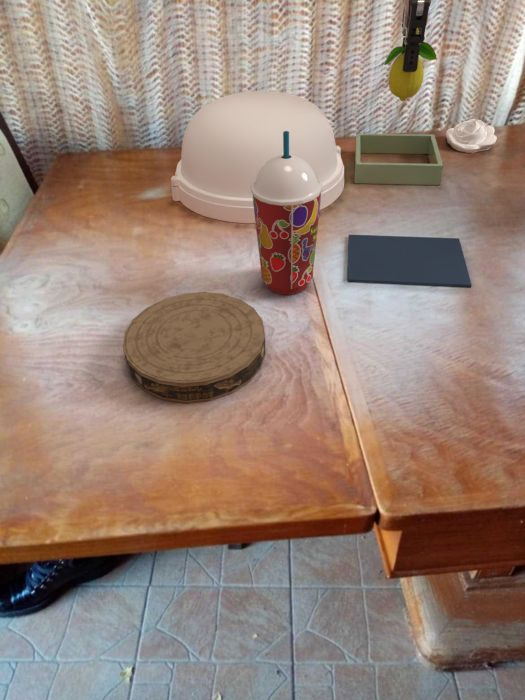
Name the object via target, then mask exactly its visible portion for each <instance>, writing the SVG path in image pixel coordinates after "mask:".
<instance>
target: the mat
mask: <svg viewBox="0 0 525 700" xmlns="http://www.w3.org/2000/svg"><path fill="white" fill-rule="evenodd" d="M347 251H348V252H347V278H346V279H347V280H346V281H347V282H348V283H368V284H369V283H370V284H389V285H390V284H393V285H411V286H412V285H414V286H432V287H433V286H434V287H454V288H455V287H458V288H472V281H471V278H470V274H469V270H468V267H467V263H466V258H465V255H464V252H463V247H462V244H461V241H460V238H459V237H430V236H405V235H404V236H403V235H402V236H401V235H376V234H375V235H372V234H348V247H347Z"/></svg>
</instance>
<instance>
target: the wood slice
mask: <svg viewBox="0 0 525 700" xmlns="http://www.w3.org/2000/svg"><path fill="white" fill-rule="evenodd" d="M264 326H265V325H264V320H263V319H262V317H261V316H260V314H259V313H258V311H257V310H256V309H255V307H253V306H251V305H250V304H249V303H247V302H245V301H244V300H243V299H240V298H239V297H238V298H237V297H234V296H233V295H232V296H231V295H228V294H225V293H219V292H209V291H198V292H185V293H182V294H177V295H174V296H170V297H166V298H163V299H161V300H159V301H157V302H154V303H153V304H151V305H148V306H147V307H146V308H144V309H143V310H142V311H140V312H139V313H138V314H137V315H136V316H135V317H133V319H132V320H131V322H130V323H129V324H128V326H127V327H126V329H125V331H124V335H123V341H122V350H123V353H124V357H125V360H126V364H127V368H128V370H129V373H130V376H131V379H132V381H133V382H134V383H135V384H136V385H137V386H138V387H139V388H141V389H142V391H143V392H145V393H147V394H149V395H150V396H153V397H155V398H158V399H160V400H163V401H166V402H167V401H168V402H173V403H181V404H193V403H203V402H211V401H214V400H217V399H220V398H223V397H227V396H229V395H232V394H233V393H235V392H237V391H238V390H240V389H241V388H243V387H244V386H246V385H247V384H249V383H250V382H251V381H252V380H253V378H254V377H256V376H257V374H258V372H260V370H261V369H262V366H263V364H264V360H265V357H266V333H265V327H264Z"/></svg>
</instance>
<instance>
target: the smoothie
mask: <svg viewBox="0 0 525 700" xmlns="http://www.w3.org/2000/svg"><path fill="white" fill-rule="evenodd" d="M251 192H252V194H253V205H254V214H255V222H256V223H255V231H256V237H257V238H256V239H257V240H256V241H257V248H258V256H259V263H260V270H261V271H260V273H261V278H262V280H263V282H264V283H265V284H266V287H267V289H269V290H270V291H272V292H273V293H276V294H279V295H294V294H298V293H301V292H303V291H304V290H305V289H307V288H308V285H309V283H310V282H311V280H312V278H313V276H314V269H315V268H314V267H315V260H316V259H315V258H316V249H317V238H318V228H319V220H320V219H319V218H320V211H321V210H320V200H321V192H322V183H321V182H320V181H319V180H318V177H317V175H316V173H315V171H314V169H313V168H312V167H311V165H310V164H309V163H308V162H307V161H306V160H304V159H302V158H301V157H298V156H295V155H291V154H289V131H284V132H283V155H279V156H276V157H273V158H272V159H270V160H268V161H267V162H266V163H265V164H264V165H263V166H262V168H261V169H260V170H259V172H258V174H257V176H256V179H255V181H254V182H253V184H252V186H251Z"/></svg>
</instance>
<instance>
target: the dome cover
mask: <svg viewBox="0 0 525 700" xmlns="http://www.w3.org/2000/svg"><path fill="white" fill-rule="evenodd" d="M284 131H289V154H291V155H295V156H298V157H301V158H302V159H304V160H306V161H307V162H308V163H309V164H310V165H311V167H312V168H313V169H314V171H315V173H316V175H317V177H318V180H319V181H320V182H321V183H322V192H321V200H320V210H319V211H321V210H323V209H325V208H327V207H329V206H330V205H332V204H333V203H335V201H337V200H338V198H339V197H340V196H341V195H342V193H343V191H344V189H345V165H344V163H343V159H342V154H341V150H342V148H341V147H340V146H339V145H337V144H336V139H335V135H334V132H333V128H332V126H331V122H330V121H329V119H328V117H327V116H326V114H325V113H324V111H322V110H321V108H319V107H318V106H317V105H316V104H315V103H313V102H312V101H310V100H308V99H306V98H303V97H302V96H299V95H295V94H292V93H288V92H283V91H275V90H250V91H249V90H248V91H242V92H236V93H232V94H228V95H224V96H222V97H218V98H216V99H214V100H212V101H210V102H208V103H206V104H205V105H204V106H202V107H200V108H199V109H198V110H197V111H196V112H195V113H194V115H192V117H191V119H190V120H189V122H188V123H187V125H186V128H185V130H184V133H183V138H182V143H181V153H180V154H181V155H180V156H181V157H180V160H179V161H178V162H177V165H176V168H175V173H174V174H175V175H172V176H171V177H170V184H171V186H170V187H171V197H172V201H174V202H180V203H181V204H182V205H183V206H184V207H186V208H187V209H188V210H190V211H192V212H194V213H196V214H198V215H200V216H203V217H205V218H210V219H213V220H216V221H222V222H228V223H236V224H256V222H255V214H254V205H253V194H252V192H251V186H252V184H253V182H254V181H255V179H256V176H257V174H258V172H259V170H260V169H261V168H262V166H263V165H264V164H265V163H266V162H267V161H268V160H270V159H272V158H273V157H276V156H279V155H283V132H284Z"/></svg>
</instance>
